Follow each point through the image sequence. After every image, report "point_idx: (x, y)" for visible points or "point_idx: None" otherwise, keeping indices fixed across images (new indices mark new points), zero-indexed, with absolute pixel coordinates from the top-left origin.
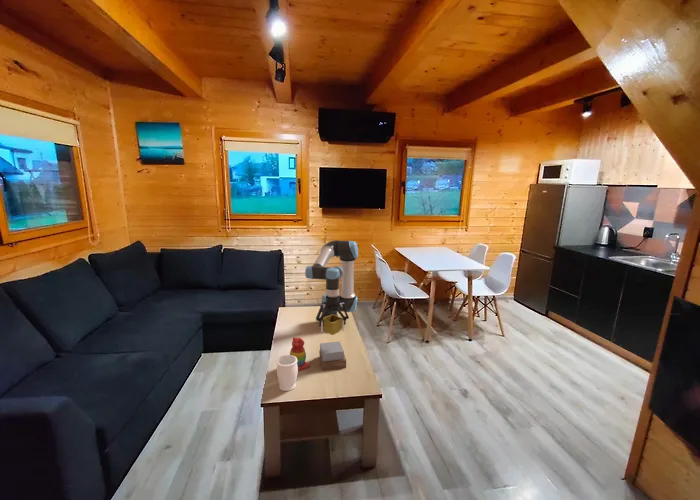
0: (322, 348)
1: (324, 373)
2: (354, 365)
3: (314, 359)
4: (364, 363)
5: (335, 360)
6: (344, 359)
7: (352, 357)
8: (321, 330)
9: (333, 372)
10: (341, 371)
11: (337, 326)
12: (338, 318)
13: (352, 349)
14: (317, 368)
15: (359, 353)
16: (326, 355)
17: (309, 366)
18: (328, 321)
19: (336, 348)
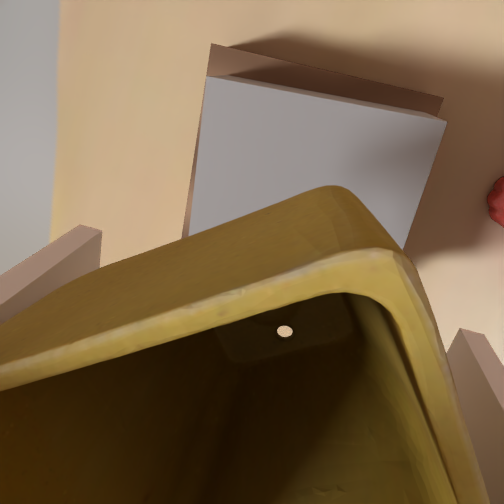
0: (398, 229)
1: (431, 33)
2: (153, 50)
3: (410, 258)
4: (70, 46)
5: (306, 86)
6: (221, 69)
7: (134, 166)
8: (496, 360)
9: (353, 17)
10: (284, 4)
11: (167, 252)
12: (30, 496)
13: (104, 261)
14: (449, 132)
15: (70, 194)
16: (402, 111)
17: (499, 179)
18: (474, 452)
19: (259, 169)
